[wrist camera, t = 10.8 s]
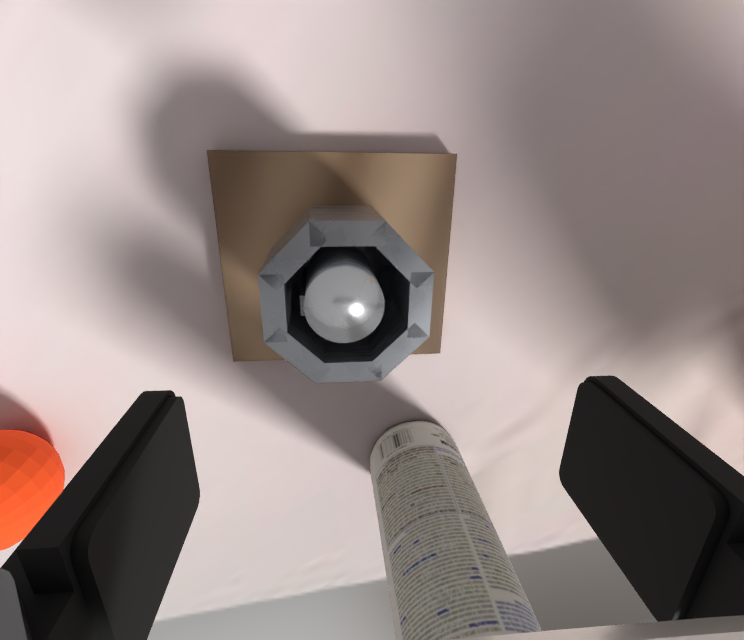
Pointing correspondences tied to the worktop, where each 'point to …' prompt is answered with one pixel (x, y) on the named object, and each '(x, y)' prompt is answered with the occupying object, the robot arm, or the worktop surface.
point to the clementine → (26, 483)
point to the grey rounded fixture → (343, 291)
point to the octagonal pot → (402, 306)
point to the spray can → (441, 542)
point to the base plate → (323, 187)
